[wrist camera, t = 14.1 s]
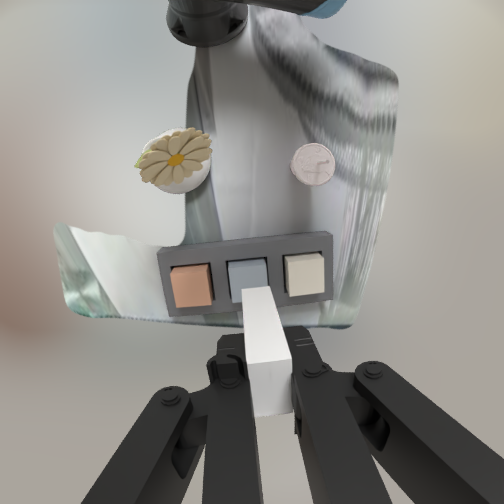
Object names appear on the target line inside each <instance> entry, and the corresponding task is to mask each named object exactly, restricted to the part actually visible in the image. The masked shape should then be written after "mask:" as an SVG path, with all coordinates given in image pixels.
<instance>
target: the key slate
mask: <svg viewBox="0 0 504 504" xmlns="http://www.w3.org/2000/svg"><path fill="white" fill-rule="evenodd" d="M228 271H229V279H230V287H231V295H232V303H237V302H242V289H247V288H257V287H266V286H268V282H267V269H266V263H265V260H264V257H257V258H247V259H237V260H229V265H228Z"/></svg>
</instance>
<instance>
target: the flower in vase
mask: <svg viewBox="0 0 504 504" xmlns="http://www.w3.org/2000/svg"><path fill="white" fill-rule="evenodd" d="M208 138H209V134H202V131H200V130H197V131H195V128H188V129H187V128H174V129H170V130H167V131H165V132H163V133H162V134H160V135H159V136H158V137H157V138H154V139H152V140H150V141H149V142H148V143H147V144H146V145H145V147H144V149H143V151H142V155H141V157H140V158H139V160H138V161H137V163H136V165H135V167H136V168H140V169H142V170H141V171H140V175H141V177H142V181H143V182H145V183H147V182H149V181H151V183H152V184H155V186H157V187H158V188H159V189H161V190H163V191H165V192H168V193H173V194H182V193H186V192H189V191H191V190H193V189H195V188H196V187H198V186H199V185H200V184H201V183H202V182H203V181H204V180H205V178H206V176H207V175H208V172H209V170H210V166H211V153H212V149H210V148H209V146H210V143H211V140H210V139H208Z"/></svg>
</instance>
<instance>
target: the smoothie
mask: <svg viewBox="0 0 504 504" xmlns="http://www.w3.org/2000/svg"><path fill="white" fill-rule="evenodd" d="M290 169H291V171H292V173H293V174H294V175H295V176H296V177H297V178H298V179H299V180H300V181H301V182H302V183H304V184H306V185H310V186H319V185H322V184H325V183H326V182H328V181H329V180H330V179H331V177H332V176H333V174H334V171H335V160H334V157H333V155H332V153H331V152H330V150H329V149H328V148H326V147H325V146H323V145H321V144H317V143H309V144H305V145H303V146H301V147H300V148H299V149H298V150H297V151H296V152H295V154H294V156H293V159H292V161H291V163H290Z"/></svg>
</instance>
